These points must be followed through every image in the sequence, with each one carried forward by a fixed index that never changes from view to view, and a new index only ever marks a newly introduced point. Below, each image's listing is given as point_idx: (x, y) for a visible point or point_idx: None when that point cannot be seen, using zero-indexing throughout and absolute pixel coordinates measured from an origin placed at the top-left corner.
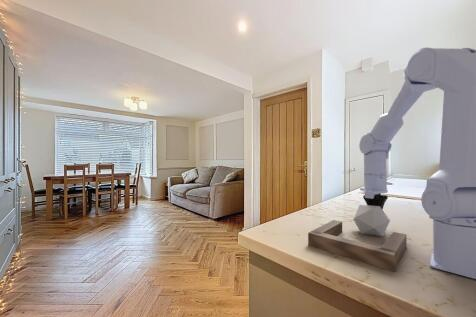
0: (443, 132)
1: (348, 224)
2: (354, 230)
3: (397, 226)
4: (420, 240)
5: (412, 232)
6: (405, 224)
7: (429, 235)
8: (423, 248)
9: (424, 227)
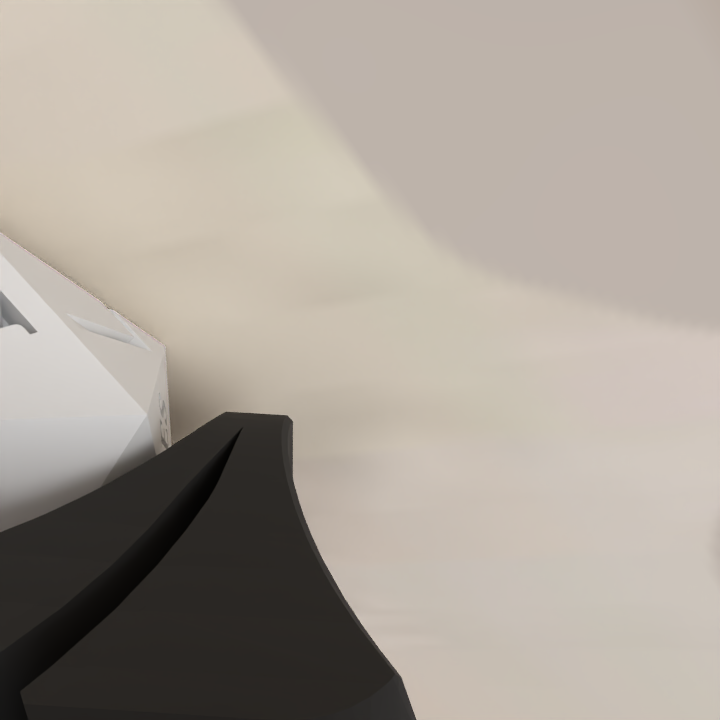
0: None
1: (222, 64)
2: (10, 217)
3: (548, 541)
4: None
5: (406, 634)
6: (688, 589)
7: None
8: None
9: (657, 694)
